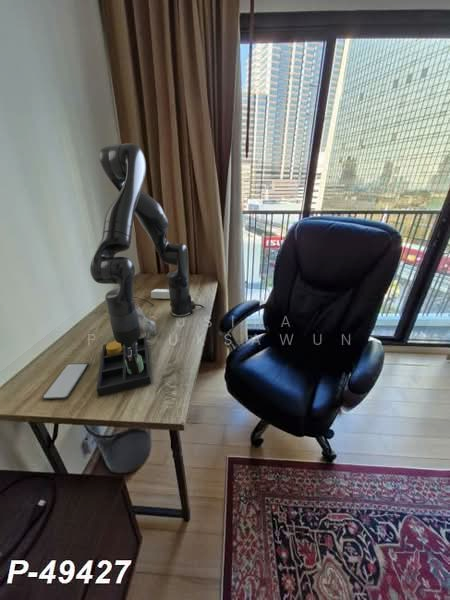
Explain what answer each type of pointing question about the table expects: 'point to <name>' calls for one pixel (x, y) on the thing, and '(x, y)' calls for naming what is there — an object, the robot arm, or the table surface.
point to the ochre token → (114, 348)
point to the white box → (160, 293)
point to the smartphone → (65, 381)
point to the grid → (122, 371)
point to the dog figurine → (145, 323)
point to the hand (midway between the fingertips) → (135, 367)
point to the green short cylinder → (140, 365)
